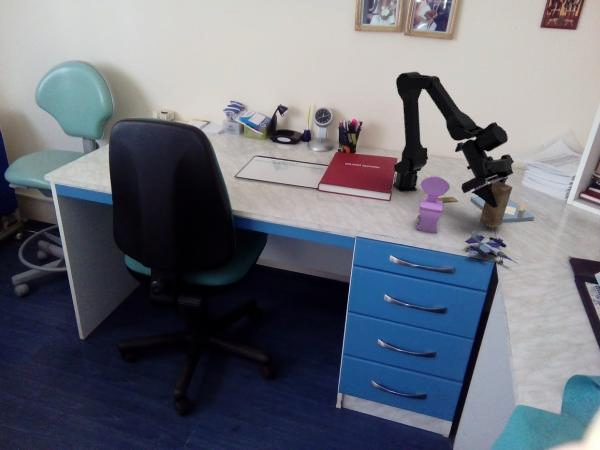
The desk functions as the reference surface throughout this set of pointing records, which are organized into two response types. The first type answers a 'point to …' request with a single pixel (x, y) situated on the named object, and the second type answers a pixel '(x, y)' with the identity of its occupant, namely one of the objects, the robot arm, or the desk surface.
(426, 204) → the toy chair
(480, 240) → the toy airplane
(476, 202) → the board
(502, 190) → the block
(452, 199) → the wing slat
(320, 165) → the desk surface
